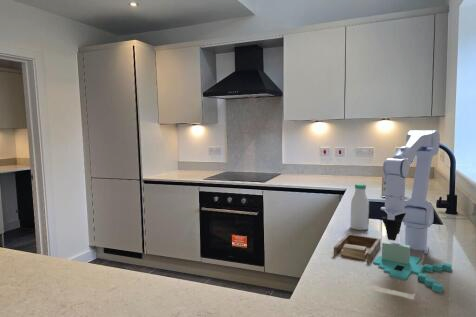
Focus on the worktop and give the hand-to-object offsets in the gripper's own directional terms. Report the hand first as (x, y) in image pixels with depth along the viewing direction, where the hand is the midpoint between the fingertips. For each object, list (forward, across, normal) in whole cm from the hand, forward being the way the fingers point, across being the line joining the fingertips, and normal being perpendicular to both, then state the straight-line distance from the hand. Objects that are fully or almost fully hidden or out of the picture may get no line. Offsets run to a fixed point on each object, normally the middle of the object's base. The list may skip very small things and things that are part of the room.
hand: (393, 236), depth 109 cm
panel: (+8, 0, +1) cm, 8 cm away
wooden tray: (+9, -4, -12) cm, 16 cm away
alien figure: (+10, +3, +5) cm, 12 cm away
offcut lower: (+8, +1, -12) cm, 15 cm away
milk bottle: (+10, -37, -19) cm, 43 cm away
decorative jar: (+10, -123, -17) cm, 124 cm away
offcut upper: (+7, +1, -12) cm, 14 cm away
